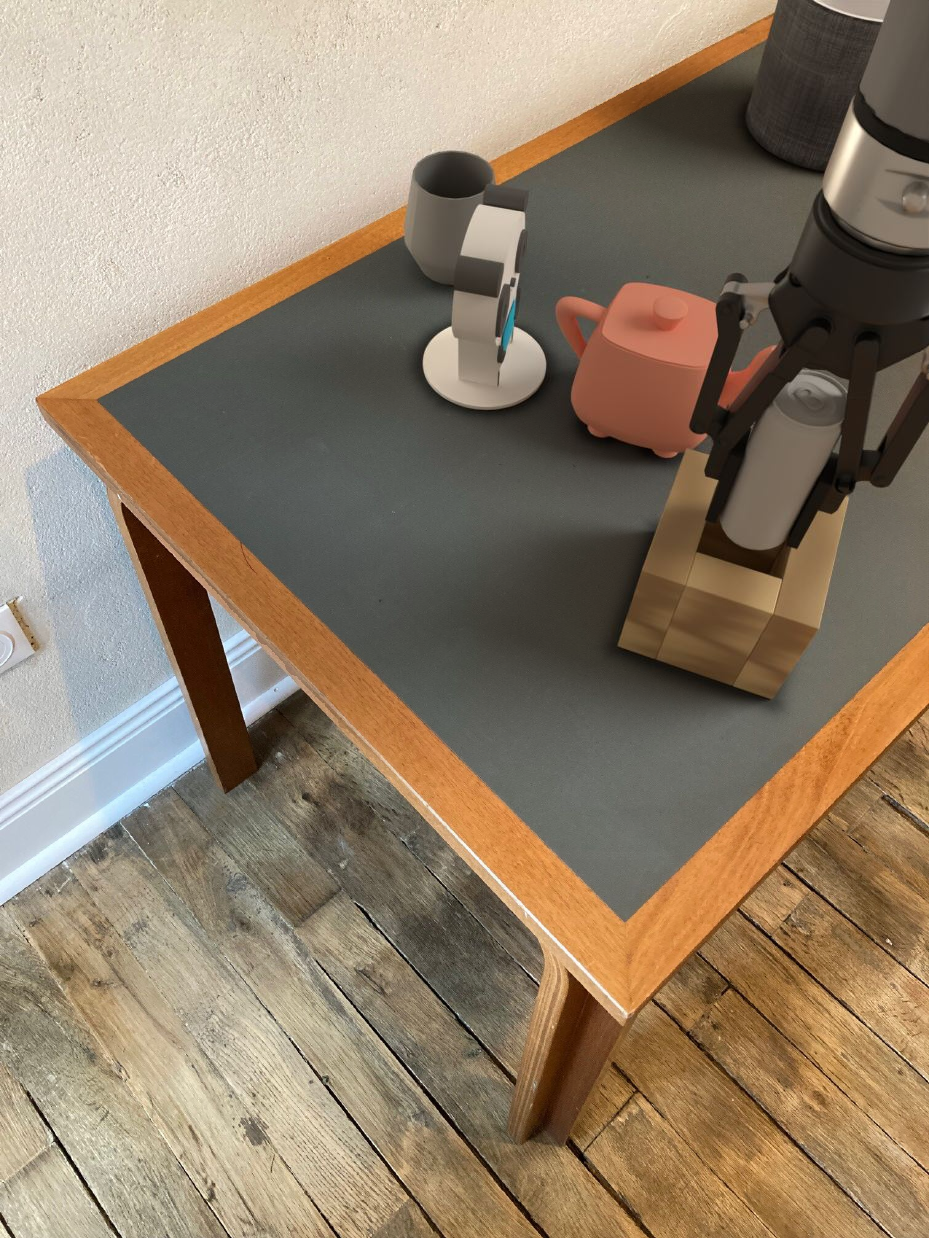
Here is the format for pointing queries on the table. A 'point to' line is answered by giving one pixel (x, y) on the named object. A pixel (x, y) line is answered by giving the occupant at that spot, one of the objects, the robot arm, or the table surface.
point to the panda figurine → (488, 313)
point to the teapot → (646, 365)
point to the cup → (443, 209)
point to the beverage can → (784, 460)
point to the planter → (811, 75)
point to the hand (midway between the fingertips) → (754, 519)
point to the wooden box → (728, 592)
